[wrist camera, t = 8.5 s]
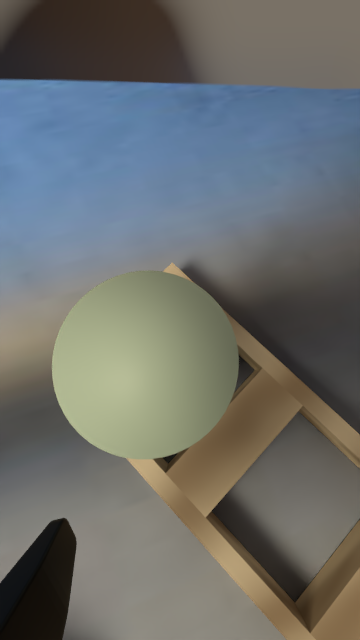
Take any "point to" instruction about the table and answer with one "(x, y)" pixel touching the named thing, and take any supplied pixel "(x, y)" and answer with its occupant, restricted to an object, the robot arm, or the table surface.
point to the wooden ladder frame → (226, 469)
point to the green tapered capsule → (145, 365)
